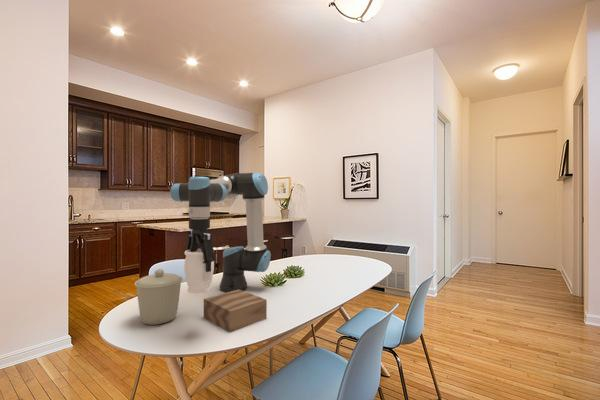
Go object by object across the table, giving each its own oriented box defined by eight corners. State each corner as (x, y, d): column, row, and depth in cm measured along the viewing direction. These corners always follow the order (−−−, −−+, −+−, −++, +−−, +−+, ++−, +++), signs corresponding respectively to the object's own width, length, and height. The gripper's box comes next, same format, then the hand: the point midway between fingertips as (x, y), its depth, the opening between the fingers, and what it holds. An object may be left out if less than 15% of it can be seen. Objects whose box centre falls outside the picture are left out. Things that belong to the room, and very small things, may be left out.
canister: (174, 328, 115) (174, 274, 115) (125, 330, 113) (125, 275, 113) (187, 311, 133) (188, 264, 133) (146, 311, 131) (146, 264, 131)
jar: (196, 297, 103) (196, 254, 103) (178, 291, 109) (178, 251, 108) (219, 288, 112) (219, 249, 112) (201, 284, 118) (201, 246, 117)
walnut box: (203, 317, 126) (203, 298, 126) (238, 306, 139) (238, 289, 139) (230, 332, 112) (230, 311, 112) (266, 318, 125) (266, 299, 125)
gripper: (175, 217, 115) (176, 273, 115) (205, 220, 99) (205, 286, 100) (194, 216, 121) (194, 270, 121) (225, 219, 105) (225, 281, 105)
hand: (199, 277), depth 110 cm, fingers closed on jar, 10 cm apart
